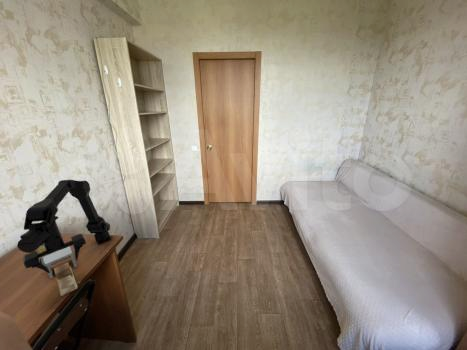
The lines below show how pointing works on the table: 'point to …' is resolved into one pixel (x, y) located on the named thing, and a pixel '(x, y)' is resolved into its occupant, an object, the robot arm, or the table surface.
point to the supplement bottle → (42, 248)
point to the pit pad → (60, 260)
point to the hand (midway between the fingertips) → (63, 265)
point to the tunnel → (58, 258)
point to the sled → (65, 278)
